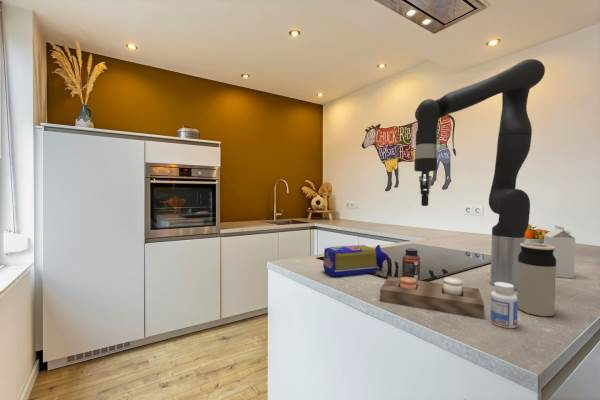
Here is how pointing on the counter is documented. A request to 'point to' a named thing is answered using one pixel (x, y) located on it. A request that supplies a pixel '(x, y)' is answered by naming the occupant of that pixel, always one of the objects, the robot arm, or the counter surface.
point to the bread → (353, 260)
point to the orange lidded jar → (408, 282)
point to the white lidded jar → (452, 286)
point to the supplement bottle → (411, 264)
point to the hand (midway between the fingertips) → (424, 205)
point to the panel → (433, 297)
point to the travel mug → (536, 279)
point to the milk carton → (562, 251)
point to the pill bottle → (504, 305)
